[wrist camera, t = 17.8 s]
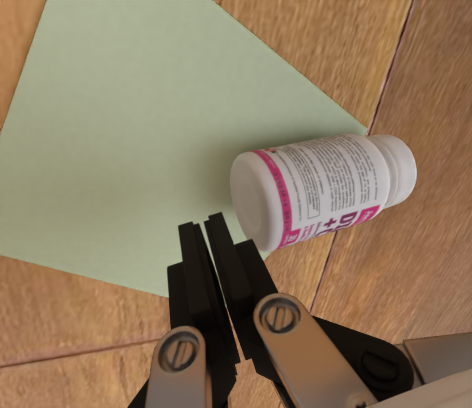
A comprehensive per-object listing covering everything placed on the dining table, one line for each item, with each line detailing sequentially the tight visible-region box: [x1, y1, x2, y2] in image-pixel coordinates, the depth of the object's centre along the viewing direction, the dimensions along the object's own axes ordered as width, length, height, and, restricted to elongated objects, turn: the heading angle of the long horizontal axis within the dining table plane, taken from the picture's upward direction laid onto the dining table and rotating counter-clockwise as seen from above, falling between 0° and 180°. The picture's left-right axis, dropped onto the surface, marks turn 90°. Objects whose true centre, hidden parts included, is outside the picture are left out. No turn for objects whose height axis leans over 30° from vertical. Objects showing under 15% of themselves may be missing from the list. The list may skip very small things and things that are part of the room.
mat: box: [0, 0, 368, 307], centre depth 16 cm, size 16×16×1 cm
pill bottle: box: [230, 133, 417, 252], centre depth 15 cm, size 5×5×8 cm
